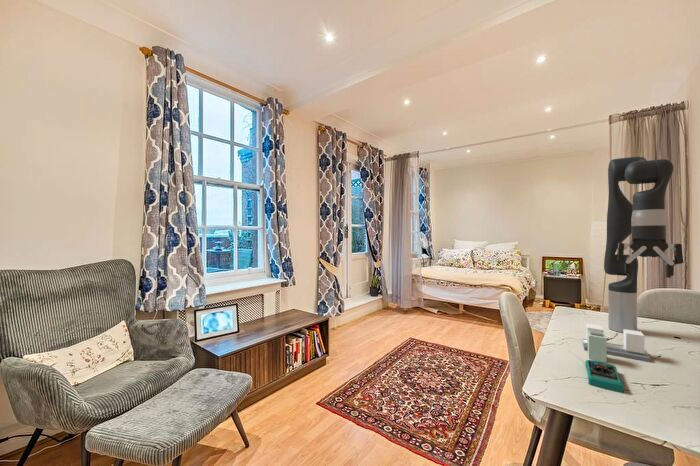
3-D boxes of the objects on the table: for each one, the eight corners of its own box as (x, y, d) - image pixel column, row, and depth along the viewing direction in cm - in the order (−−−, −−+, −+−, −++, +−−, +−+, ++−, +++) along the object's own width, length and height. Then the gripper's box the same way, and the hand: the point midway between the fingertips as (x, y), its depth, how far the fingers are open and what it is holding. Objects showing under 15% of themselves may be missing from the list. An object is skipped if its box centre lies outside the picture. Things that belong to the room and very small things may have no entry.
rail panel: (582, 341, 114) (582, 321, 114) (643, 352, 104) (643, 330, 104) (584, 349, 106) (584, 328, 106) (650, 362, 96) (650, 338, 96)
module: (587, 353, 103) (587, 330, 103) (604, 356, 100) (604, 332, 100) (589, 359, 98) (588, 334, 98) (606, 362, 96) (606, 337, 96)
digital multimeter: (615, 373, 89) (615, 363, 89) (624, 394, 77) (623, 383, 77) (585, 366, 94) (585, 357, 94) (588, 386, 82) (588, 376, 82)
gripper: (677, 224, 89) (677, 276, 89) (615, 225, 98) (615, 273, 98) (686, 223, 83) (686, 280, 83) (619, 224, 92) (619, 275, 92)
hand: (648, 276), depth 90 cm, fingers open, 8 cm apart
